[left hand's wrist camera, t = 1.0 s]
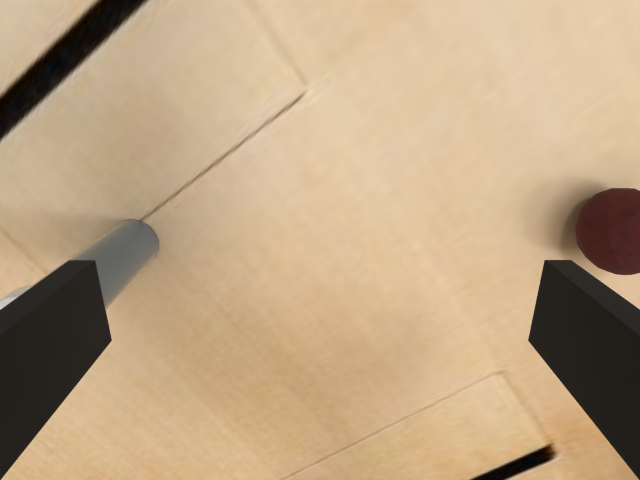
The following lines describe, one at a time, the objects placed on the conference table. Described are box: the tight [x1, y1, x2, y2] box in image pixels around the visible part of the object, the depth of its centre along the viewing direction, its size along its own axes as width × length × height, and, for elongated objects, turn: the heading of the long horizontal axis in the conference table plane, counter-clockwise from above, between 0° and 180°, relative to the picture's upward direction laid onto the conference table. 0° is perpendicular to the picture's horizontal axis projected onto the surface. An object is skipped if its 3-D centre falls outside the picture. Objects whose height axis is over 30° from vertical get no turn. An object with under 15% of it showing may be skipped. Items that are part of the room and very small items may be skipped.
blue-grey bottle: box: [33, 220, 159, 310], centre depth 35 cm, size 5×5×16 cm
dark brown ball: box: [576, 188, 640, 275], centre depth 38 cm, size 7×8×7 cm
